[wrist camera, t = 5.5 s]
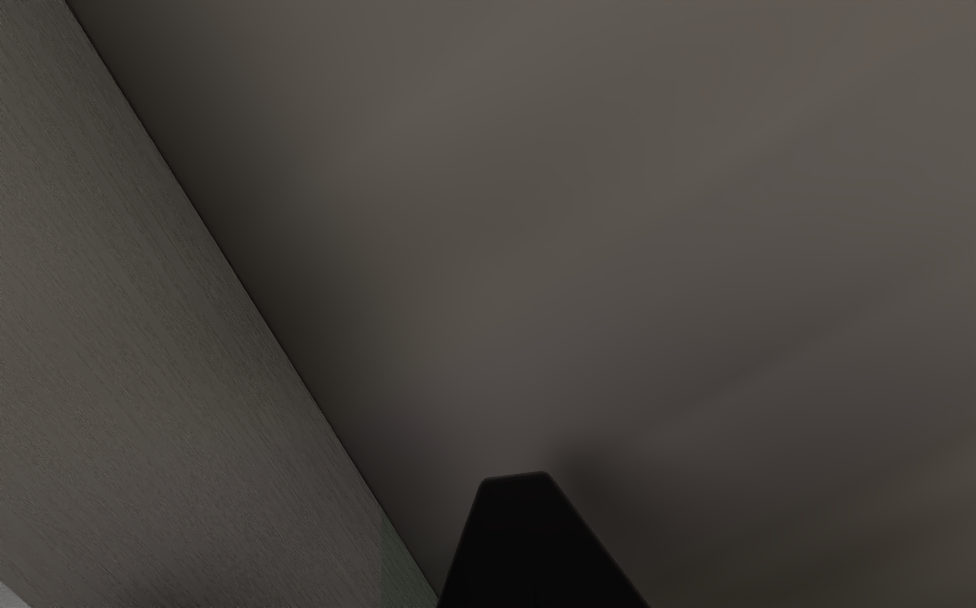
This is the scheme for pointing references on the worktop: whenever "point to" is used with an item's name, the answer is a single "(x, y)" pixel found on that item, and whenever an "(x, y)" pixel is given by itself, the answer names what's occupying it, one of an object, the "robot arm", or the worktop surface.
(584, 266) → the worktop surface
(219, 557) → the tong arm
